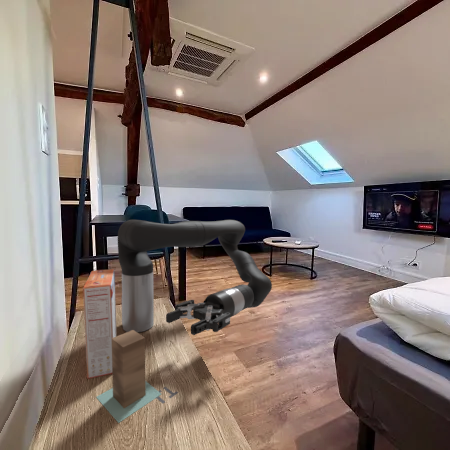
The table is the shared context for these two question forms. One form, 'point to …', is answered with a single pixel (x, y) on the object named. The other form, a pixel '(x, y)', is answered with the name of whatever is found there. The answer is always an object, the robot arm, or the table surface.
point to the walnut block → (128, 367)
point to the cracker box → (99, 321)
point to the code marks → (168, 392)
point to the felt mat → (123, 413)
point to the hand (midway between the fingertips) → (178, 324)
